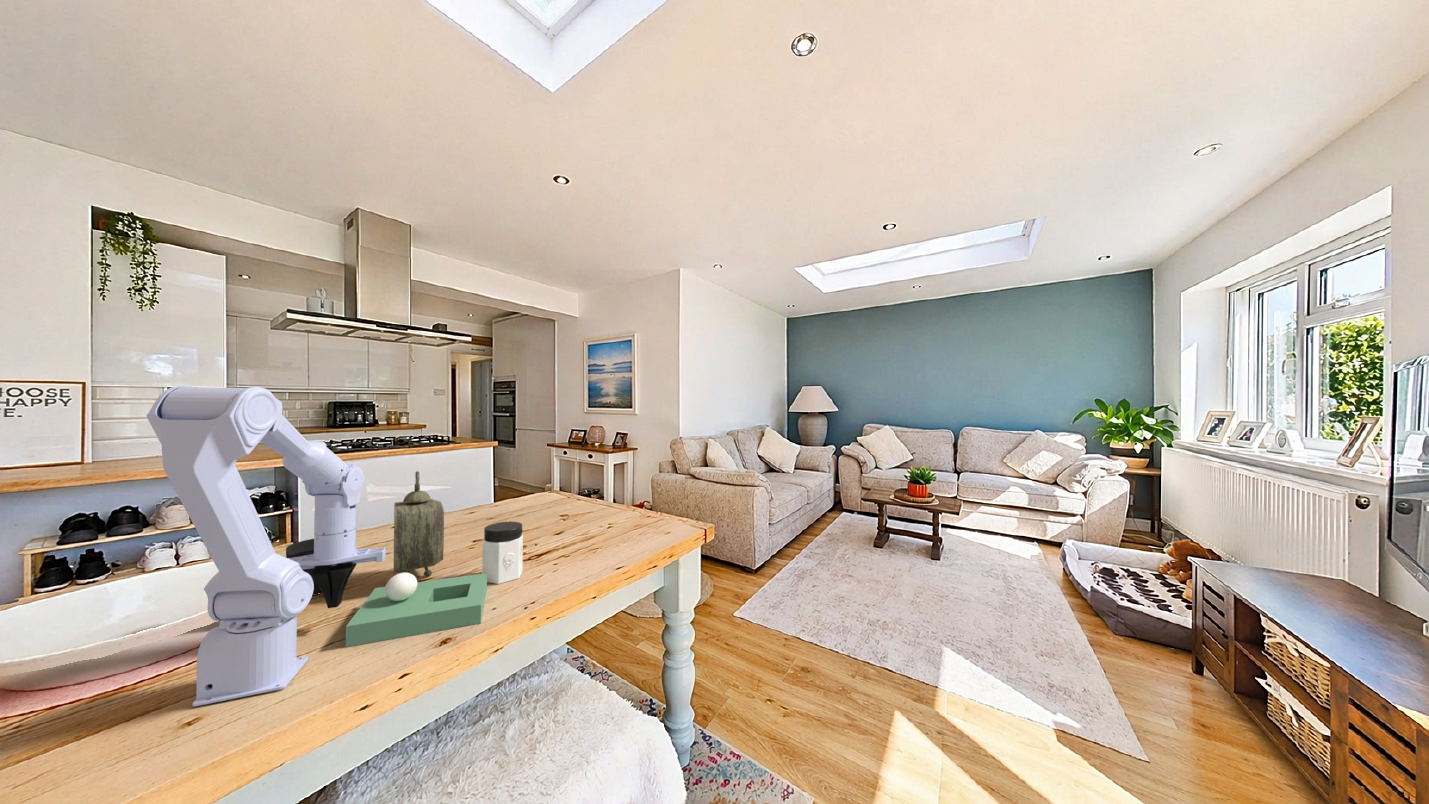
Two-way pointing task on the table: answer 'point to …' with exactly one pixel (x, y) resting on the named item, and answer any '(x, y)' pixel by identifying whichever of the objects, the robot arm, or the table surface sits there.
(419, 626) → the putting box
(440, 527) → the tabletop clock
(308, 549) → the pen holder
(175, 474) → the robot arm
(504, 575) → the jar
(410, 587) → the white egg
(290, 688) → the table surface
